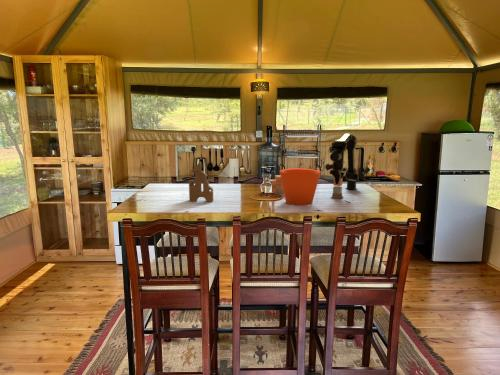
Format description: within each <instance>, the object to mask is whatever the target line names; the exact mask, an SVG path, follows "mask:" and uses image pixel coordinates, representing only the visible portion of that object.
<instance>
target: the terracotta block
mask: <svg viewBox="0 0 500 375" xmlns="http://www.w3.org/2000/svg"><path fill="white" fill-rule="evenodd" d="M343 178H344V177H343ZM343 178H340V180H339V182H338V184H336V182H335V178H334V177H333V187H334V186H343Z"/></svg>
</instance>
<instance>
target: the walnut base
mask: <svg viewBox="0 0 500 375" xmlns="http://www.w3.org/2000/svg"><path fill="white" fill-rule="evenodd" d="M343 198H344V196H343V193H341V194H333V193H331V197H330V199H335V200H342V199H343Z"/></svg>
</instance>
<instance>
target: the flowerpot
mask: <svg viewBox="0 0 500 375" xmlns="http://www.w3.org/2000/svg"><path fill="white" fill-rule="evenodd" d="M321 172H322V171H321V170H317V169H313V168H300V167H299V168H283V169H280V170H279V175H281V180H282V185H283V190H284V194H283V195H284V199H285V203H286V204H287V205H291V206H302V207H303V206H304V207H305V206H310V205H312V204H313V201H314V197H315V194H316V190H317V187H318V183H319V180H320V176H321V174H322V173H321Z"/></svg>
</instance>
